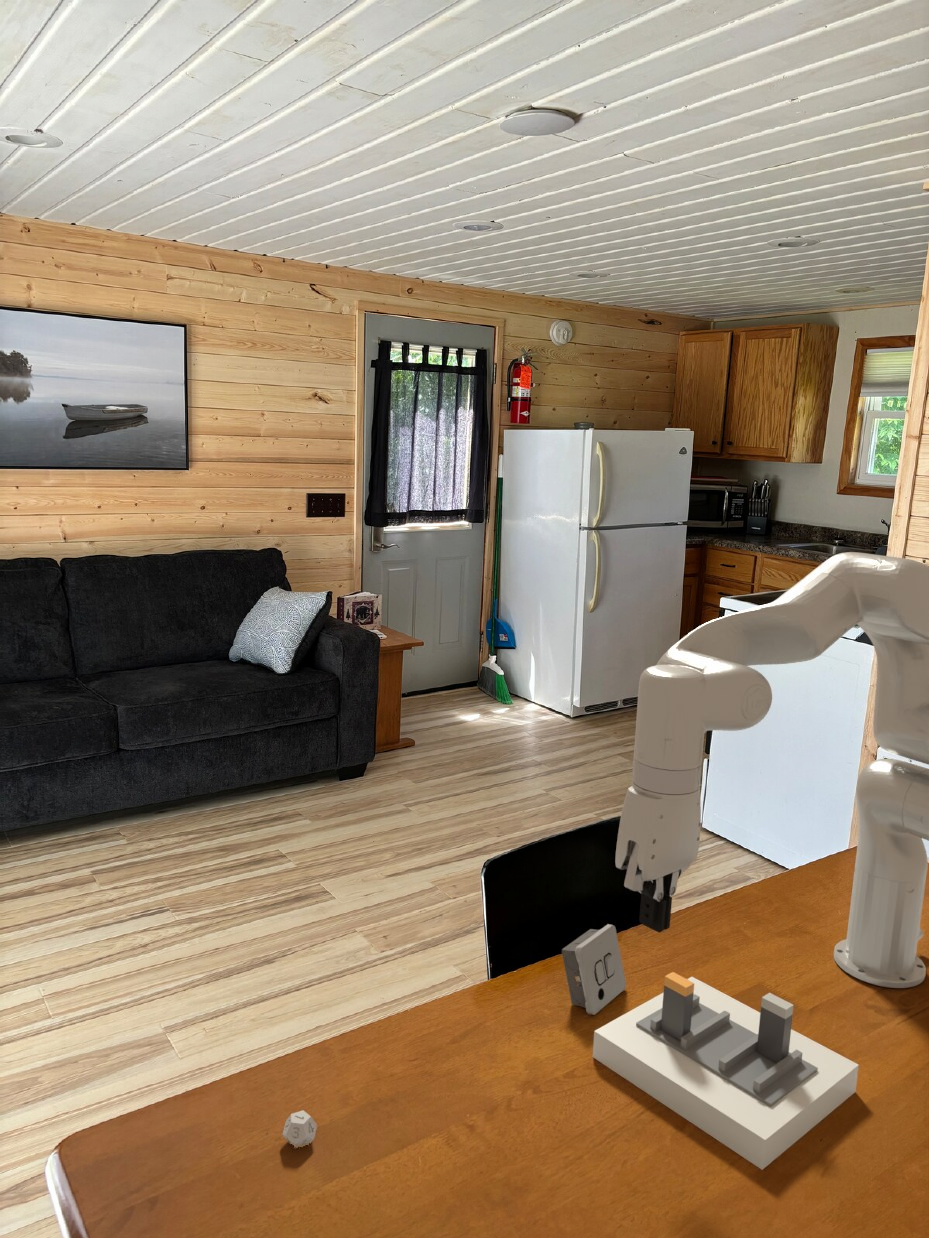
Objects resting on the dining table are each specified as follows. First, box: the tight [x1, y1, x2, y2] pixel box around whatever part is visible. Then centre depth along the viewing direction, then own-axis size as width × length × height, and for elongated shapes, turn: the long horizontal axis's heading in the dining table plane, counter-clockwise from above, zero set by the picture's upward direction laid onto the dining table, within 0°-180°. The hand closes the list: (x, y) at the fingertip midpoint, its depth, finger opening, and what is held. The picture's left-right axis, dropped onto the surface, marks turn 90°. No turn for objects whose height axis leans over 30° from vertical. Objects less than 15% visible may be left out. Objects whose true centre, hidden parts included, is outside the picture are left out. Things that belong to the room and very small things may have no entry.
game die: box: [282, 1109, 318, 1148], centre depth 104 cm, size 4×4×3 cm
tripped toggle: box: [661, 971, 694, 1041], centre depth 118 cm, size 2×3×7 cm, turn 41°
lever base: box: [592, 976, 860, 1170], centre depth 116 cm, size 20×24×11 cm
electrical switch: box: [561, 923, 627, 1015], centre depth 132 cm, size 9×5×9 cm, turn 141°
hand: (654, 925), depth 111 cm, fingers closed
